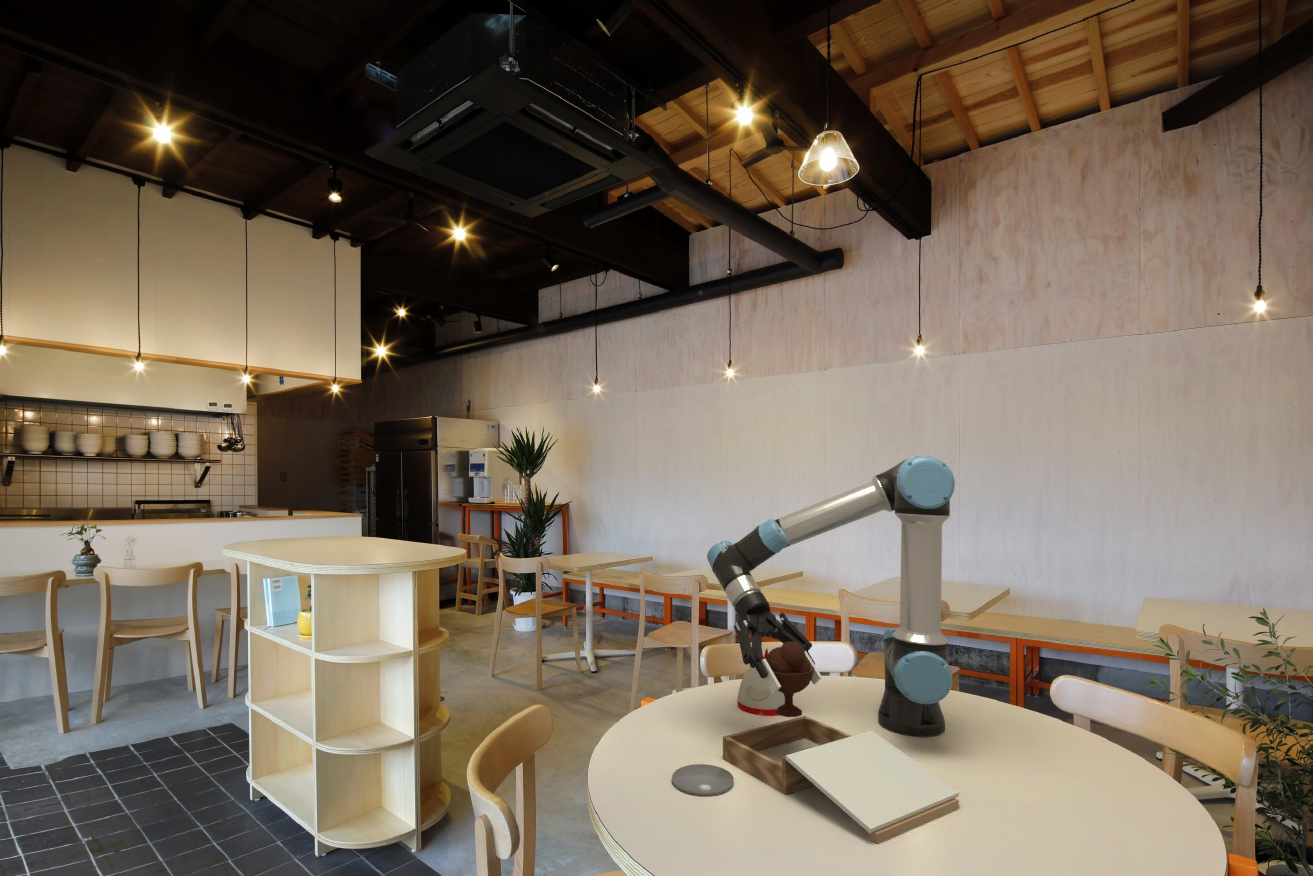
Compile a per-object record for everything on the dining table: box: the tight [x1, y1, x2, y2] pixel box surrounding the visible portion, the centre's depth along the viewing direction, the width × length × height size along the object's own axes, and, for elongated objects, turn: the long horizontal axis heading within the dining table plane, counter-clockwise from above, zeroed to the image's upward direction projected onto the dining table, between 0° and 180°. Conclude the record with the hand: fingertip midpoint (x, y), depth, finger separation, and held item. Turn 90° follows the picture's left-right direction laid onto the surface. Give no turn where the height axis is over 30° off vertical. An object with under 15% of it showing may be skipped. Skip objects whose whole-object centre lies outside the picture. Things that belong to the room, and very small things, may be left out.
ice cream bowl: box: [766, 642, 814, 718], centre depth 137 cm, size 11×11×15 cm
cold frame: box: [722, 715, 853, 796], centre depth 135 cm, size 19×24×6 cm
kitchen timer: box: [737, 648, 785, 717], centre depth 169 cm, size 14×14×15 cm
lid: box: [785, 730, 960, 845], centre depth 118 cm, size 20×24×7 cm
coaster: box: [671, 763, 735, 797], centre depth 125 cm, size 12×12×1 cm
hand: (797, 685), depth 135 cm, fingers closed on ice cream bowl, 11 cm apart
